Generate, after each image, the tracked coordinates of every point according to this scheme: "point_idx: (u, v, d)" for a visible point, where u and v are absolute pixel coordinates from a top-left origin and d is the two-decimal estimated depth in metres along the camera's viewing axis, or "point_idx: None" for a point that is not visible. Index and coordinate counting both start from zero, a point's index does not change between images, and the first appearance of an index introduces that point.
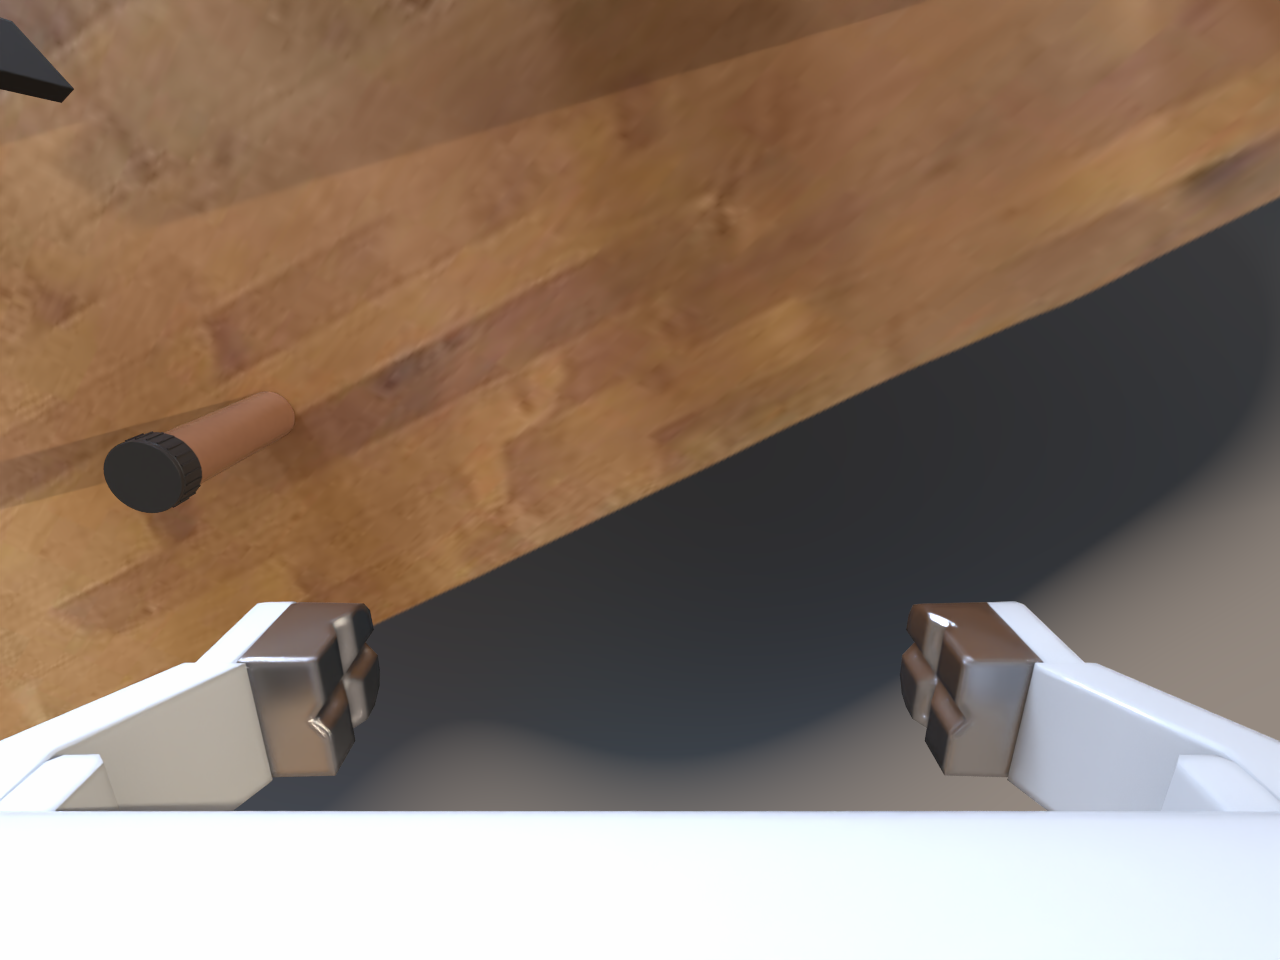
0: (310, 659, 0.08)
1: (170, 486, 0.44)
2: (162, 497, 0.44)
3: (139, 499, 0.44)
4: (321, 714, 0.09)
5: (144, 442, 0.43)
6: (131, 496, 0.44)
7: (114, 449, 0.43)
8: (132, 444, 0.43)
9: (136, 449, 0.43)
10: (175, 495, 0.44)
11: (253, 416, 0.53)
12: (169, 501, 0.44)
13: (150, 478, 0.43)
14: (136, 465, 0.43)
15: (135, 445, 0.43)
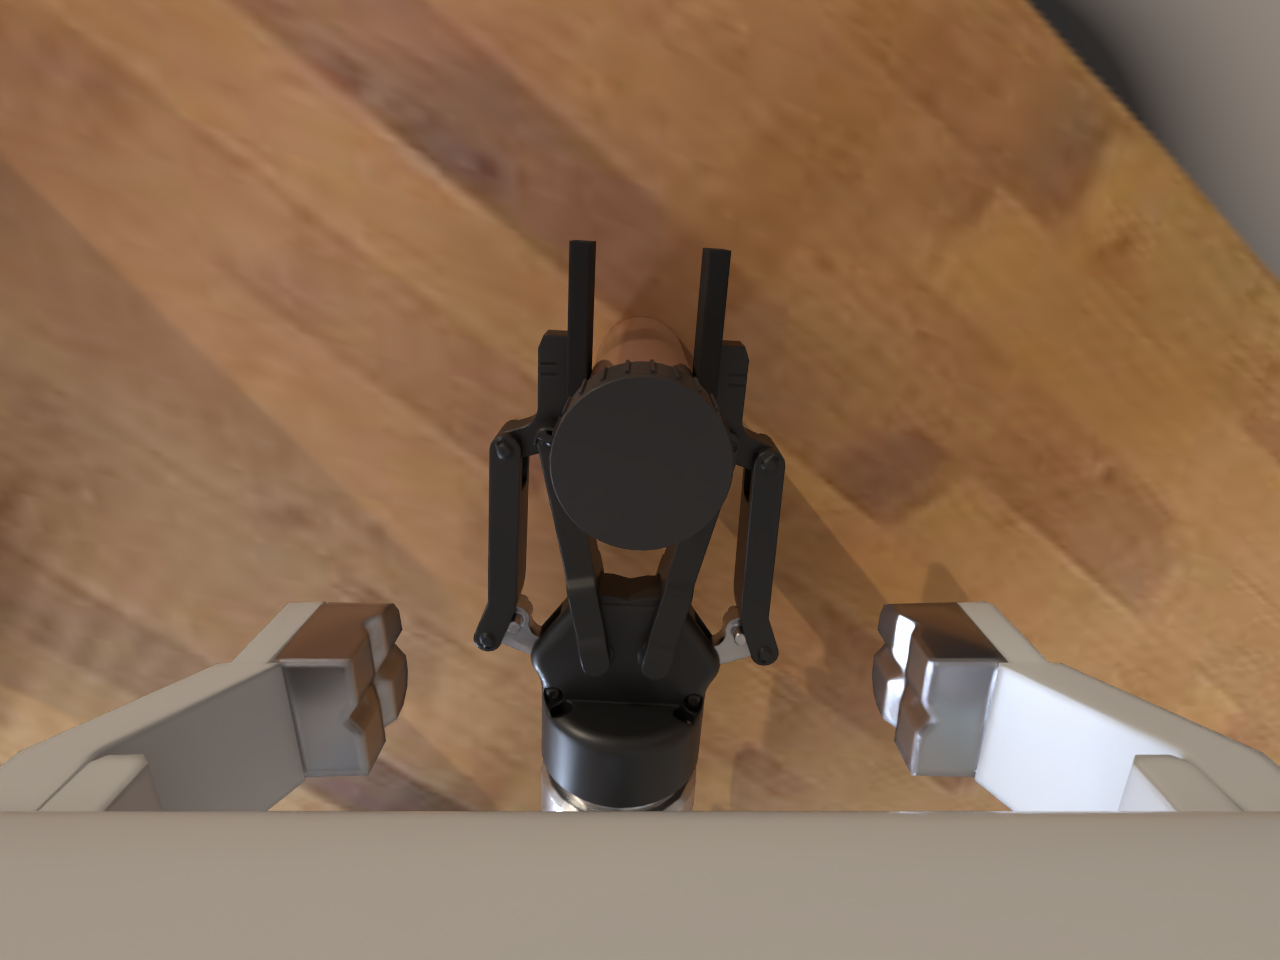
0: (344, 659, 0.08)
1: (634, 403, 0.17)
2: (673, 415, 0.17)
3: (701, 464, 0.18)
4: (354, 714, 0.09)
5: (552, 480, 0.18)
6: (701, 482, 0.18)
7: (599, 536, 0.19)
8: (568, 503, 0.18)
9: (574, 493, 0.18)
10: (655, 387, 0.17)
11: None
12: (677, 397, 0.17)
13: (635, 450, 0.18)
14: (614, 486, 0.18)
15: (566, 496, 0.18)
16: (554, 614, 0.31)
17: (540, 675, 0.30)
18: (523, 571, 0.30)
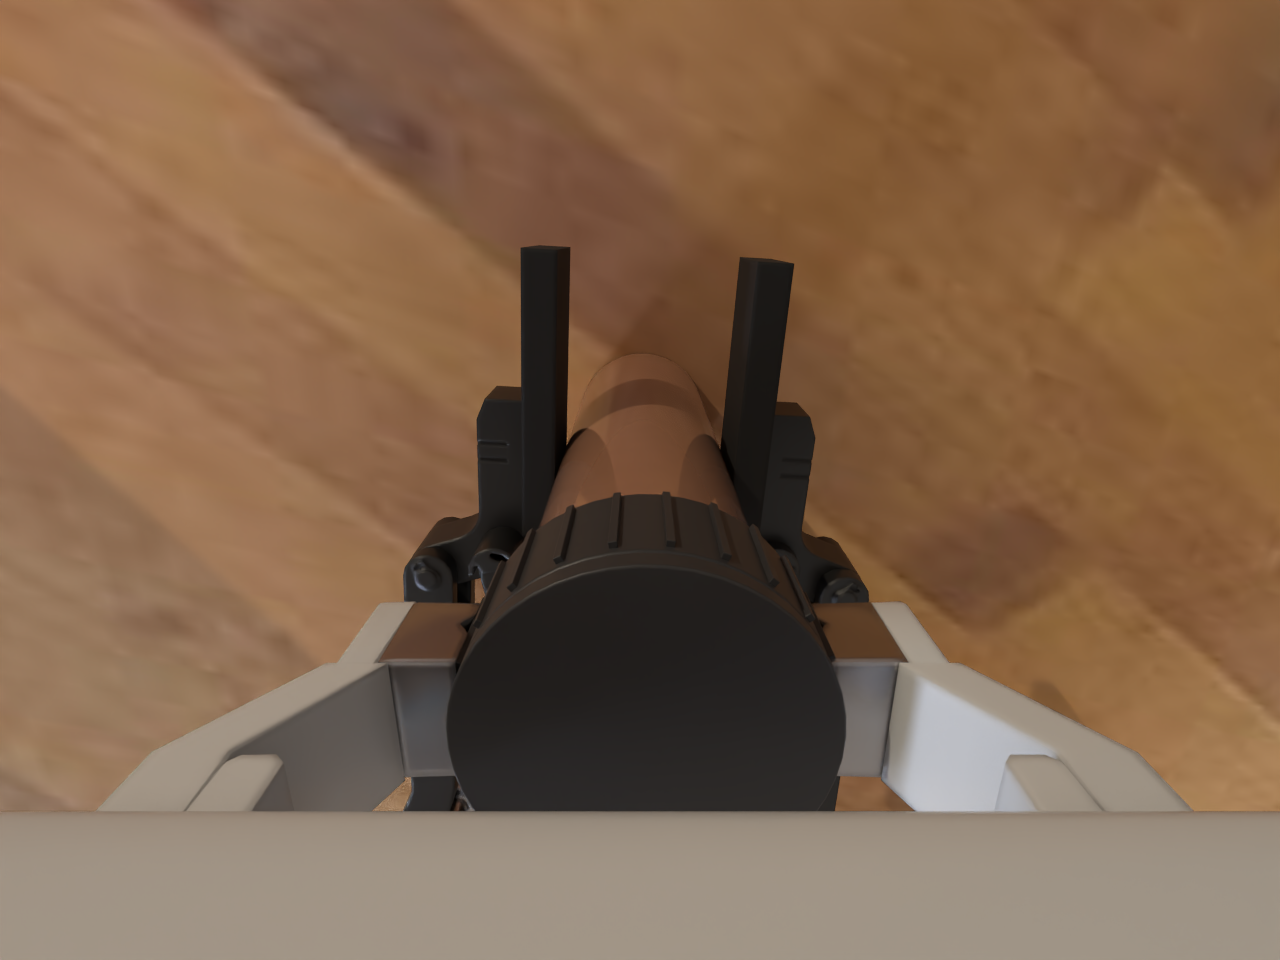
0: (449, 659, 0.08)
1: (630, 620, 0.08)
2: (718, 644, 0.08)
3: (776, 738, 0.08)
4: None
5: None
6: (774, 771, 0.08)
7: None
8: (489, 810, 0.09)
9: (503, 791, 0.08)
10: (676, 587, 0.07)
11: (572, 431, 0.18)
12: (727, 608, 0.08)
13: (632, 713, 0.08)
14: (588, 779, 0.08)
15: (485, 797, 0.09)
16: None
17: None
18: None
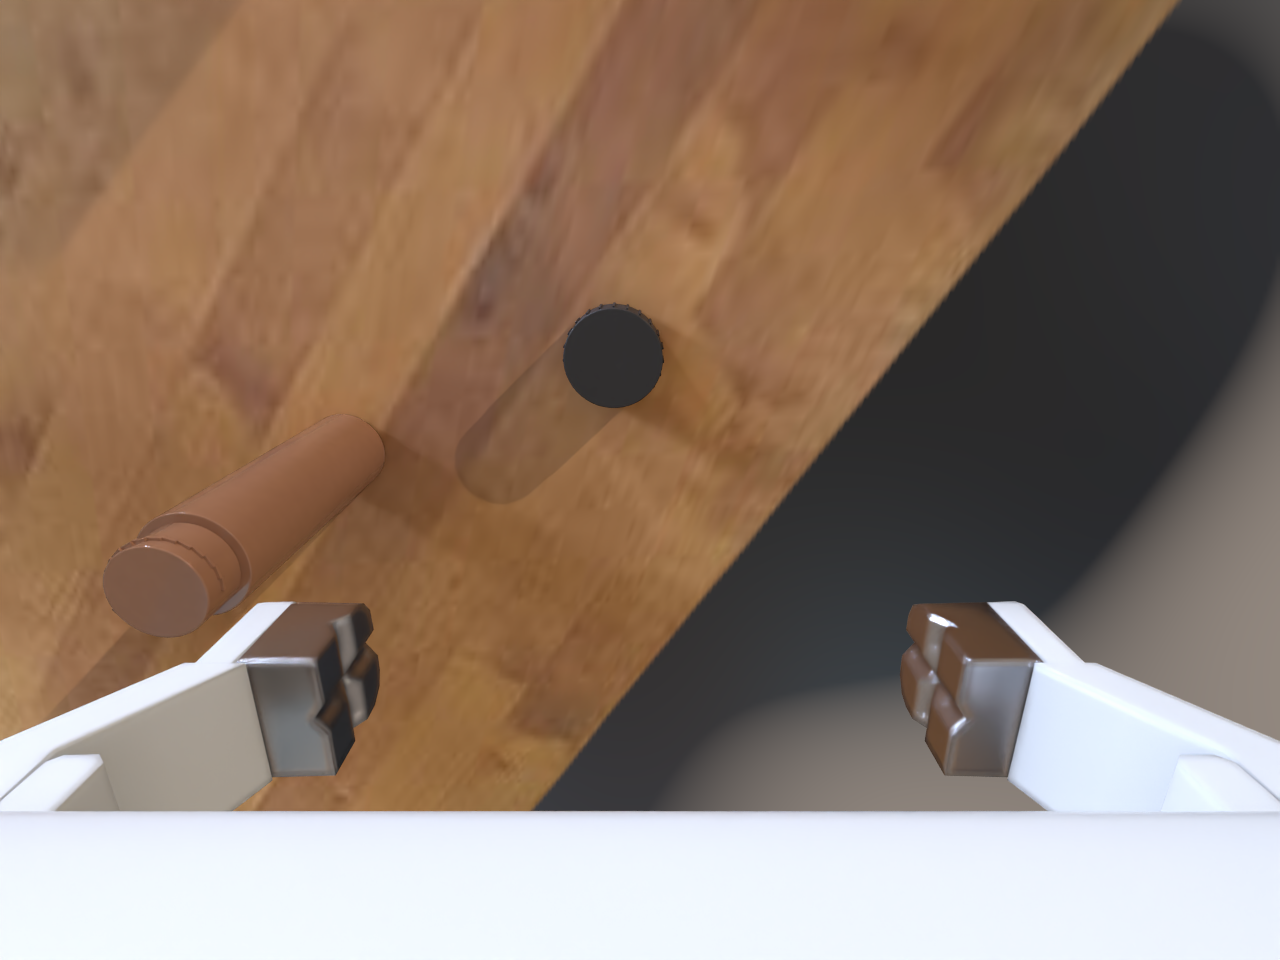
0: (310, 659, 0.08)
1: (577, 359, 0.33)
2: (585, 339, 0.33)
3: (613, 326, 0.33)
4: (321, 714, 0.09)
5: (617, 407, 0.34)
6: (624, 327, 0.33)
7: (651, 387, 0.34)
8: (630, 401, 0.34)
9: (624, 396, 0.34)
10: (569, 348, 0.33)
11: (310, 446, 0.31)
12: (575, 336, 0.33)
13: (603, 361, 0.33)
14: (622, 375, 0.33)
15: (626, 401, 0.34)
16: None
17: None
18: None
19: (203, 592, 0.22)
